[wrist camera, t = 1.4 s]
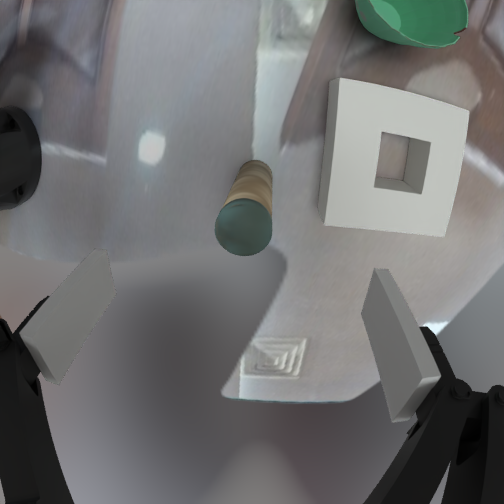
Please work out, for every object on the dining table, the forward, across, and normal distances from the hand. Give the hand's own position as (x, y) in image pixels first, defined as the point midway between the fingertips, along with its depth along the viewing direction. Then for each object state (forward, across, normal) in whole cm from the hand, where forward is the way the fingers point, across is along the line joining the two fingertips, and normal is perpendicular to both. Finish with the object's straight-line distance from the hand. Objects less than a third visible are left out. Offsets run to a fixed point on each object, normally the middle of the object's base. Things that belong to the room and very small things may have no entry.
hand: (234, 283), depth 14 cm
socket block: (+20, +14, +4) cm, 25 cm away
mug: (+20, +12, +22) cm, 32 cm away
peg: (+20, 0, 0) cm, 20 cm away
